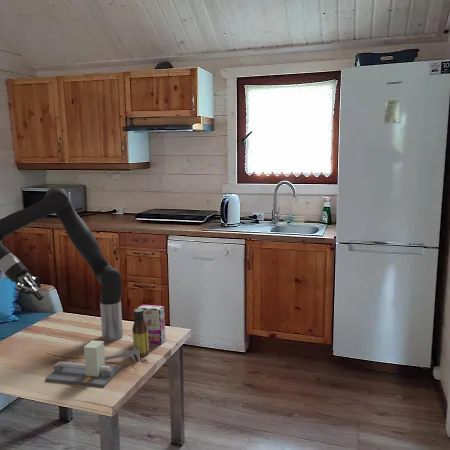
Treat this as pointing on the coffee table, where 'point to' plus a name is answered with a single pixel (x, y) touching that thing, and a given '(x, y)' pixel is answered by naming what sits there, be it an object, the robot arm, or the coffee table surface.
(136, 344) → the sauce bottle
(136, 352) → the caliper
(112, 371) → the pipe rig
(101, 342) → the sage green block
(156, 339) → the candy bar box
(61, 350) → the coffee table surface
